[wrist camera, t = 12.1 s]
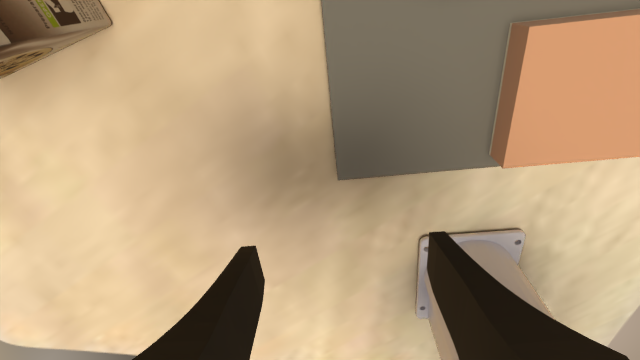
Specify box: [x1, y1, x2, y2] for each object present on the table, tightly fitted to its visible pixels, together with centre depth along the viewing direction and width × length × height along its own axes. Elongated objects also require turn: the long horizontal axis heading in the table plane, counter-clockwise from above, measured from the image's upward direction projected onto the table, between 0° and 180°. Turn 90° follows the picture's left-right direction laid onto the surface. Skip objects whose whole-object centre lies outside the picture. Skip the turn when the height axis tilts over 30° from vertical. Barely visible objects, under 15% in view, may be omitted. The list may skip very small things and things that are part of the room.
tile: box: [489, 8, 640, 168], centre depth 19 cm, size 8×2×10 cm
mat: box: [321, 0, 640, 180], centre depth 19 cm, size 15×21×1 cm
